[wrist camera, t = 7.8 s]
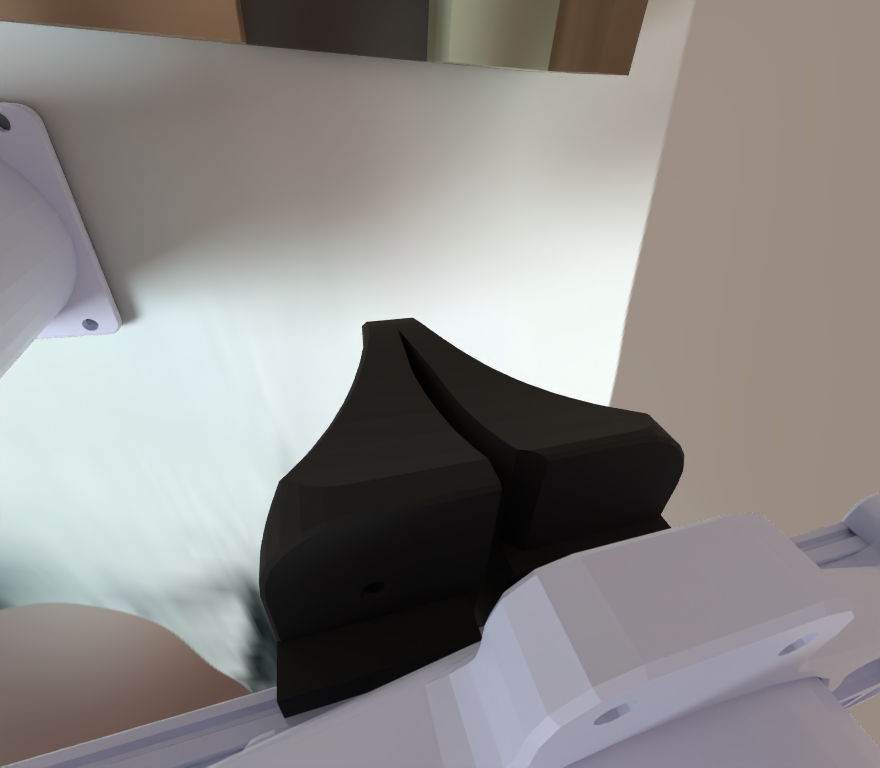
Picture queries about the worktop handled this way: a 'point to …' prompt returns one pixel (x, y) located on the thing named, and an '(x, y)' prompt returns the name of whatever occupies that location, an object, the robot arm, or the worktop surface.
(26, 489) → the worktop surface
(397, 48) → the board
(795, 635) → the robot arm
